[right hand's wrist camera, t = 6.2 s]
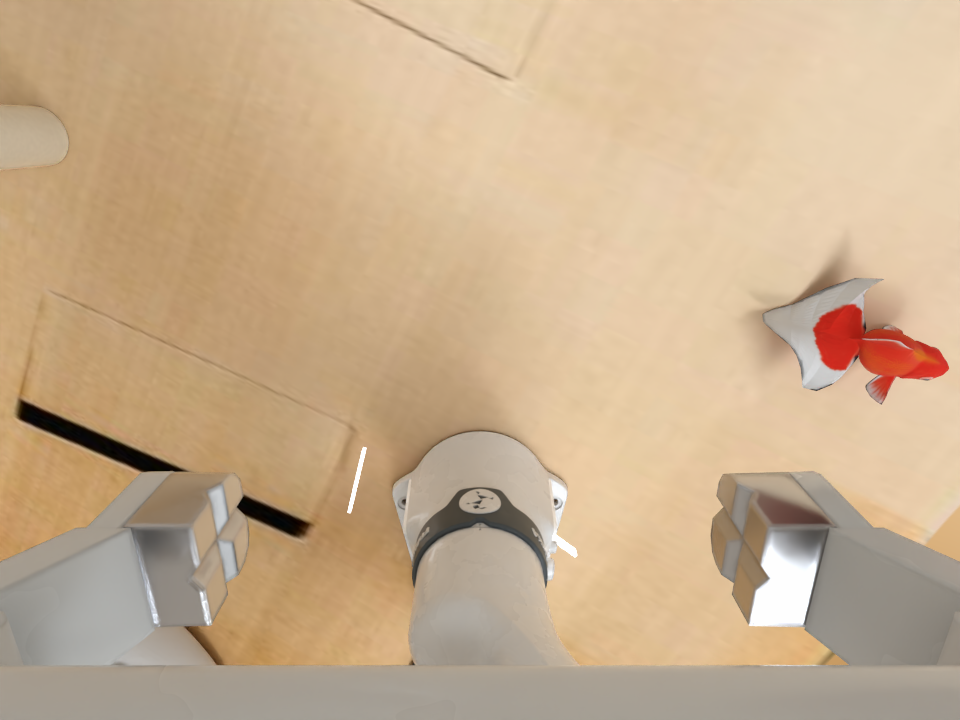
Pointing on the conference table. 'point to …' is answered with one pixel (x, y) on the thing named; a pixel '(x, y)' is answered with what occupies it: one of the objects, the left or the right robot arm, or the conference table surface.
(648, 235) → the conference table surface
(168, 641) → the white slotted rounded device
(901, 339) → the fish
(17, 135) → the jar
